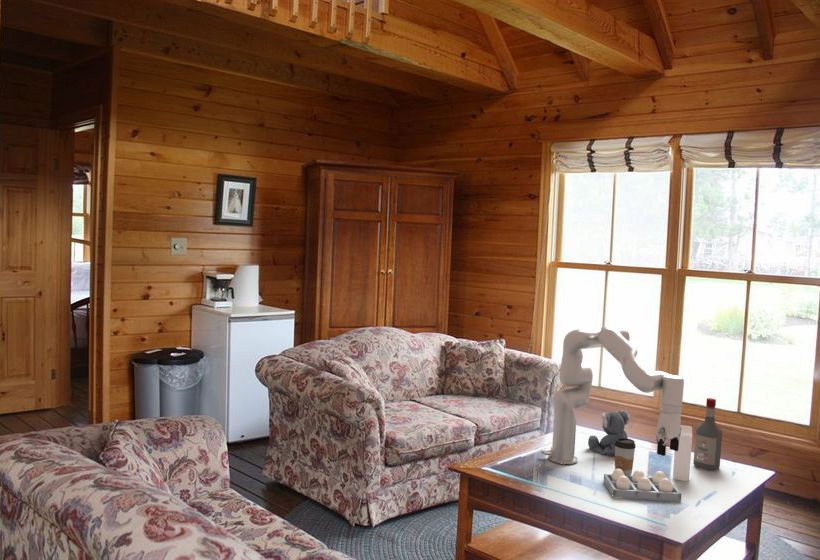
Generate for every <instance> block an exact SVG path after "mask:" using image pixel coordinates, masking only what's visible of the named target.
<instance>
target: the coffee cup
mask: <svg viewBox="0 0 820 560" xmlns="http://www.w3.org/2000/svg"><path fill="white" fill-rule="evenodd" d="M614 445H615V456H614V470H615V469H621V470H622V471H623V473H624V475H628V476H632V472H633V467H634V466H633V465H634V461H635V460H634V459H635V458H634V456H635V452H636V442H635V440H633V439H632V438H617V439H616V441H615V444H614Z"/></svg>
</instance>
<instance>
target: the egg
mask: <svg viewBox="0 0 820 560" xmlns="http://www.w3.org/2000/svg"><path fill="white" fill-rule="evenodd" d="M667 478H668V477H666V478H664V479H662V480H661V482H660V483H659V490H660V492H672V491H673V485H674V484H673V482H672V481H671V479H669V478H668V479H667ZM671 482H672V483H671ZM672 484H673V485H672Z"/></svg>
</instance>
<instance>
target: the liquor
mask: <svg viewBox="0 0 820 560" xmlns="http://www.w3.org/2000/svg"><path fill="white" fill-rule="evenodd" d="M716 402H717V400H716V398H711V397H708V398H706V403H705V405H706V410H705V418H704V421H703V422H701V423H700V424H699V425H698V426H697V427H696V428H695V435H694V436H695V438H694V452H693V466H694V467H695V468H696V469H699V470H700V469H701V470H703V471H706V472H714V471H716V470H717V471H718V470H719V469H720V467H721V455H722V442H723V441H722V440H723V430H722V429H721V427H720V426H719V425H718V424H717V423H716V419H715V414H716V405H717V404H716Z"/></svg>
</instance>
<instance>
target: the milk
mask: <svg viewBox="0 0 820 560" xmlns="http://www.w3.org/2000/svg"><path fill="white" fill-rule="evenodd" d="M681 428H682V430H681V435H680V440H679V448H678V451H674V452H673V453H674V455H673V469H672V476H673V480H677V481H682V482H690V475H691V474H690V472H691V458H692V446H693V445H692V444H693V427H692V426H690V425H682V424H681Z"/></svg>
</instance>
